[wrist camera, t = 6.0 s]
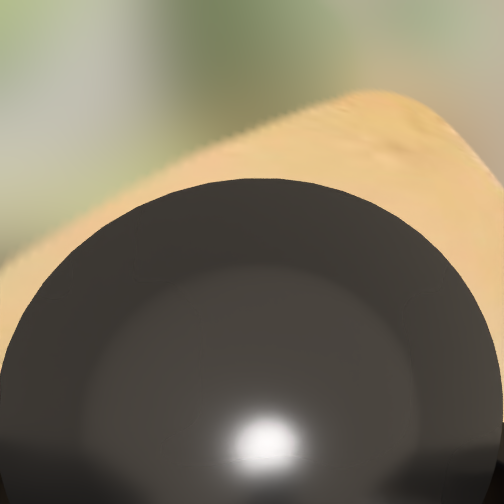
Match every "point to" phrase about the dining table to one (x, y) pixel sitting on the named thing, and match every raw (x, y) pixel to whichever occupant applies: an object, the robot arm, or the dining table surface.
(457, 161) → the dining table surface
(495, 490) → the robot arm
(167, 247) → the dark tapered cup
